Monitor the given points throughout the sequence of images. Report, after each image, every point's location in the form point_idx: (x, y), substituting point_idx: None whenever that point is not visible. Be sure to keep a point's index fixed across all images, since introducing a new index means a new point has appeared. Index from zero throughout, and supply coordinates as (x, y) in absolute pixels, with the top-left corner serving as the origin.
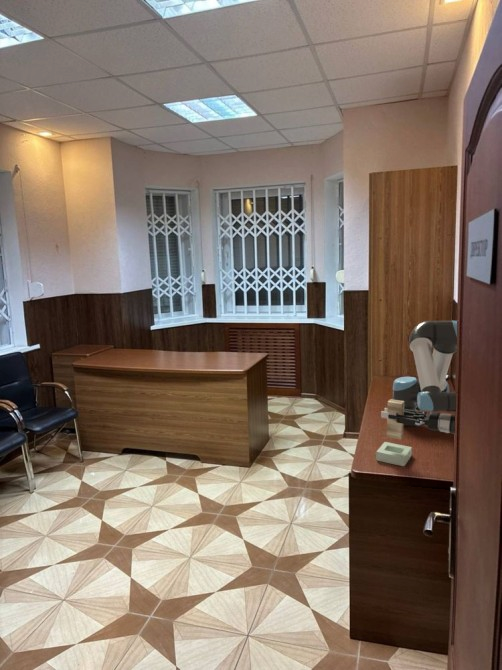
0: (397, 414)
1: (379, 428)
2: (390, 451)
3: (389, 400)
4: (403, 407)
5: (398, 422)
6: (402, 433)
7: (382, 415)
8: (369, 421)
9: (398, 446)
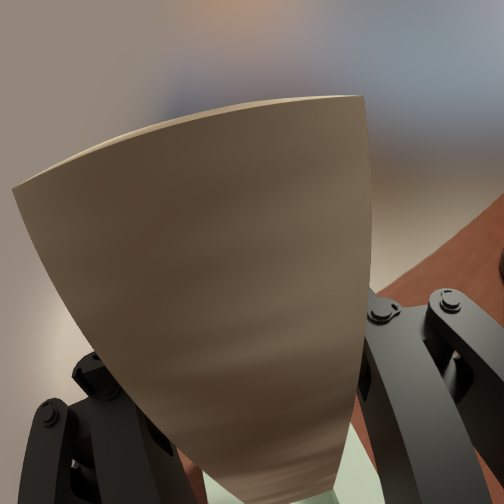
0: (79, 383)
1: (451, 282)
2: None
3: (180, 117)
4: (293, 305)
5: (79, 467)
6: (309, 491)
7: None
8: (448, 247)
9: (342, 469)
